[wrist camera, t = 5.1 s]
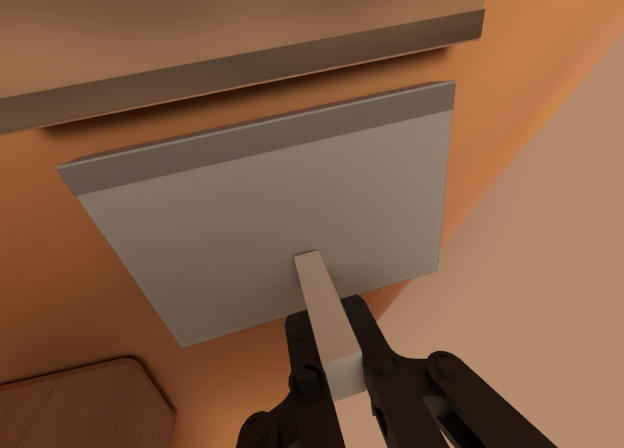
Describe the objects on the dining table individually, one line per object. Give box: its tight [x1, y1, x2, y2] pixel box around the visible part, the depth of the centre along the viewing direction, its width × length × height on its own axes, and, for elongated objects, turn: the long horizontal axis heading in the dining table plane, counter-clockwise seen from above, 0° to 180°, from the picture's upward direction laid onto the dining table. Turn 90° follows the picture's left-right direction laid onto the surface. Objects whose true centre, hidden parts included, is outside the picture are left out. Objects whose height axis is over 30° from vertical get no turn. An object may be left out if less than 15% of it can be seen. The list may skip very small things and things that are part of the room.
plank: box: [56, 80, 455, 348], centre depth 15 cm, size 12×18×2 cm, turn 100°
